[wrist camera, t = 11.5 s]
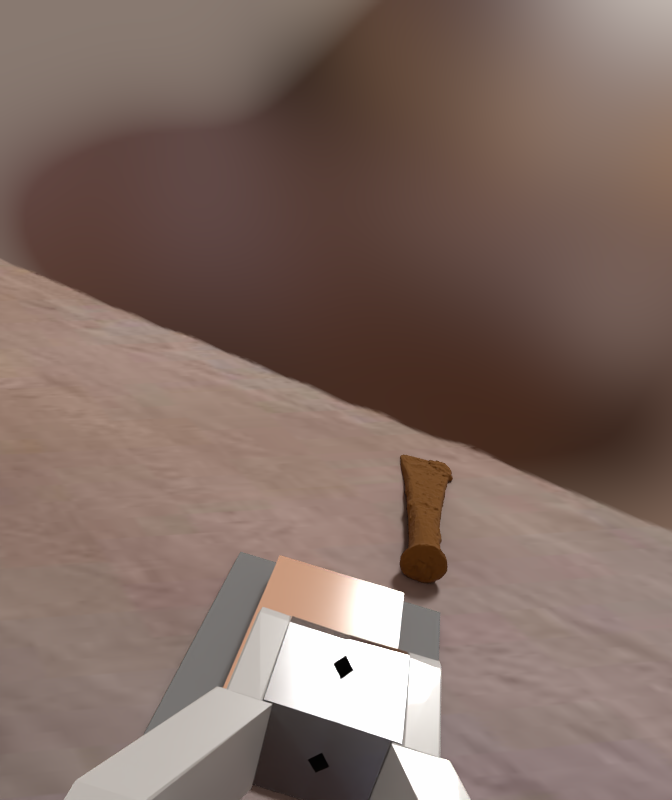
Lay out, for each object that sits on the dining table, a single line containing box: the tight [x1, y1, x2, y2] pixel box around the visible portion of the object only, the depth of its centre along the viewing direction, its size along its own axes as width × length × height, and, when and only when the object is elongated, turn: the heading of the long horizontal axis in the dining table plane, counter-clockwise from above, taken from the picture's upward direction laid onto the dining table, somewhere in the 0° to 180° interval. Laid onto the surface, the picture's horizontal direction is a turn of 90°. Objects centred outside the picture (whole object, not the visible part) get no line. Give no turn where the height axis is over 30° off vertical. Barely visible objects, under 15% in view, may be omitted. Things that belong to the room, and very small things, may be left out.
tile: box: [223, 555, 404, 689], centre depth 36 cm, size 9×2×12 cm
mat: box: [144, 552, 440, 735], centre depth 35 cm, size 15×15×1 cm
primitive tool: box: [400, 455, 453, 583], centre depth 53 cm, size 19×6×4 cm, turn 173°
